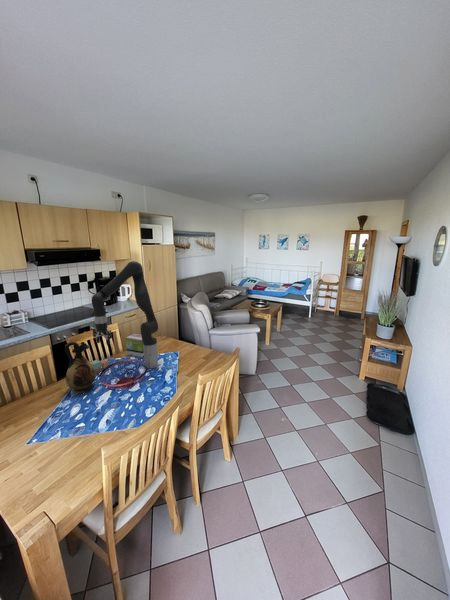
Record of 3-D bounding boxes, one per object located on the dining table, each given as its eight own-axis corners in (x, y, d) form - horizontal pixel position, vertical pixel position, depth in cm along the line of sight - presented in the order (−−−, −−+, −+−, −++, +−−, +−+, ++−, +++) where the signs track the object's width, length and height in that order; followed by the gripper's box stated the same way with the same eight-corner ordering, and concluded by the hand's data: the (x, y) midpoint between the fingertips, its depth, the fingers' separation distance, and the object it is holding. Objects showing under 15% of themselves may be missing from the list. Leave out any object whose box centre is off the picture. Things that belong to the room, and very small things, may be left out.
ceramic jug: (98, 379, 156) (93, 335, 150) (95, 392, 142) (89, 345, 135) (67, 384, 150) (61, 339, 143) (61, 399, 136) (53, 349, 129)
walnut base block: (102, 373, 164) (101, 367, 163) (93, 375, 161) (92, 370, 160) (99, 369, 168) (99, 364, 167) (91, 372, 165) (90, 367, 164)
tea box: (126, 355, 191) (124, 337, 188) (134, 350, 200) (133, 333, 197) (142, 357, 187) (141, 339, 183) (150, 352, 196) (149, 335, 193)
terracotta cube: (109, 366, 174) (108, 360, 173) (104, 369, 169) (103, 363, 168) (103, 365, 175) (103, 359, 174) (99, 368, 170) (98, 362, 169)
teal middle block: (101, 366, 164) (100, 361, 163) (94, 370, 160) (93, 364, 159) (97, 364, 167) (96, 359, 166) (90, 367, 163) (89, 362, 162)
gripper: (113, 321, 168) (115, 342, 172) (97, 319, 172) (99, 340, 176) (105, 324, 161) (107, 347, 165) (88, 322, 165) (90, 344, 169)
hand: (103, 343), depth 170 cm, fingers open, 8 cm apart
